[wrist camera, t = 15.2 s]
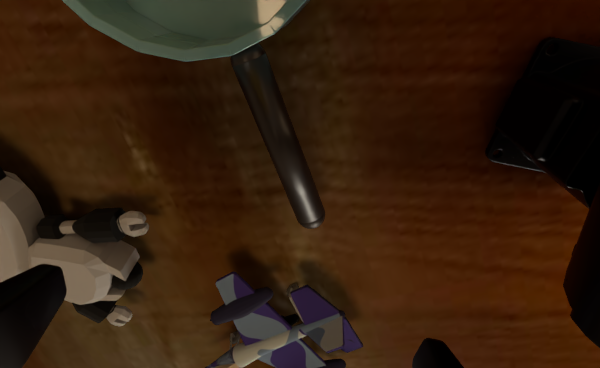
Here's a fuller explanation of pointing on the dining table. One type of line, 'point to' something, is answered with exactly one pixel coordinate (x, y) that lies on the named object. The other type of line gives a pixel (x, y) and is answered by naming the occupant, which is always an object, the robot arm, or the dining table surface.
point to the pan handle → (278, 133)
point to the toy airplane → (280, 327)
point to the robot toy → (72, 249)
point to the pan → (188, 24)
